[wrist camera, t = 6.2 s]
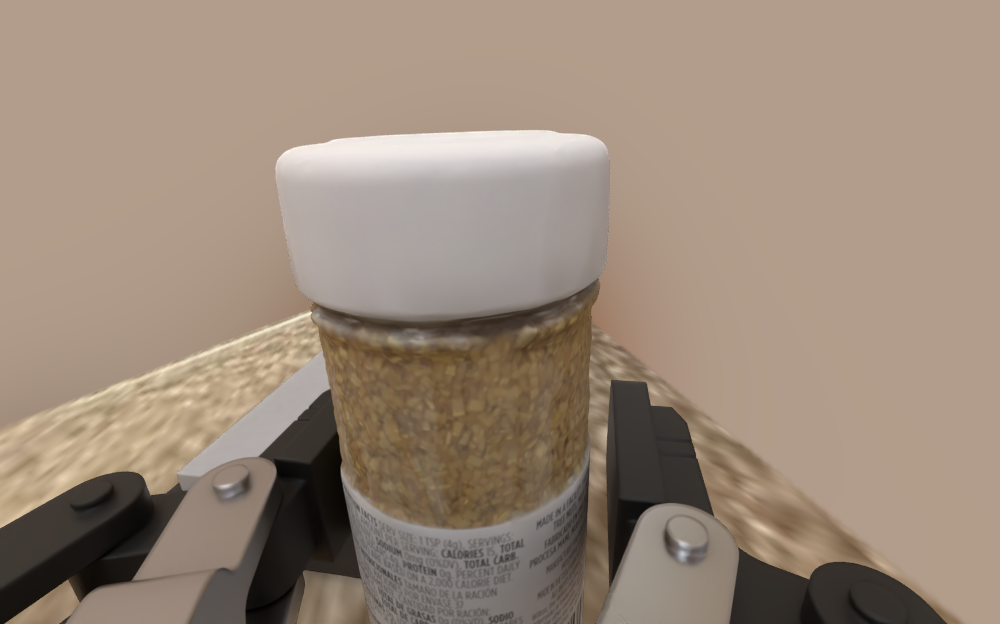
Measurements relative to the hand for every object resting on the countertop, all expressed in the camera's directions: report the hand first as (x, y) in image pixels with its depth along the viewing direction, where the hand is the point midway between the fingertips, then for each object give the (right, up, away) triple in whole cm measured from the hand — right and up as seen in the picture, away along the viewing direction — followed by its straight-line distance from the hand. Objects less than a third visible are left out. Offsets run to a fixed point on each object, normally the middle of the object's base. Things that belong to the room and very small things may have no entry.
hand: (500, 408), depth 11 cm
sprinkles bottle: (0, -8, +1) cm, 8 cm away
